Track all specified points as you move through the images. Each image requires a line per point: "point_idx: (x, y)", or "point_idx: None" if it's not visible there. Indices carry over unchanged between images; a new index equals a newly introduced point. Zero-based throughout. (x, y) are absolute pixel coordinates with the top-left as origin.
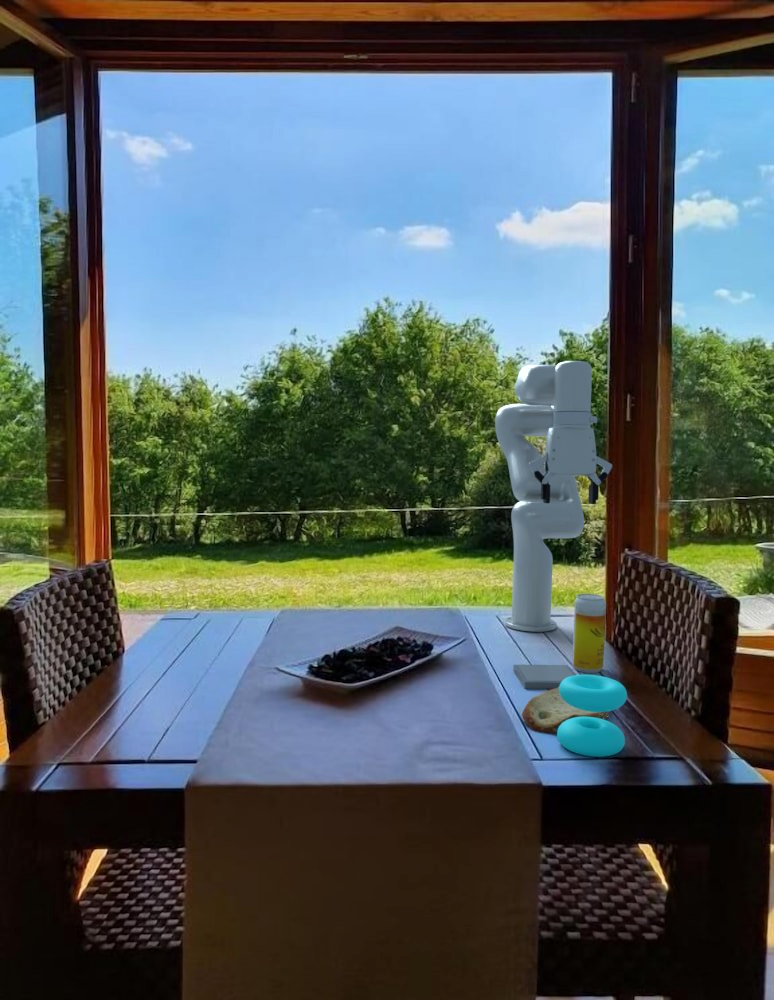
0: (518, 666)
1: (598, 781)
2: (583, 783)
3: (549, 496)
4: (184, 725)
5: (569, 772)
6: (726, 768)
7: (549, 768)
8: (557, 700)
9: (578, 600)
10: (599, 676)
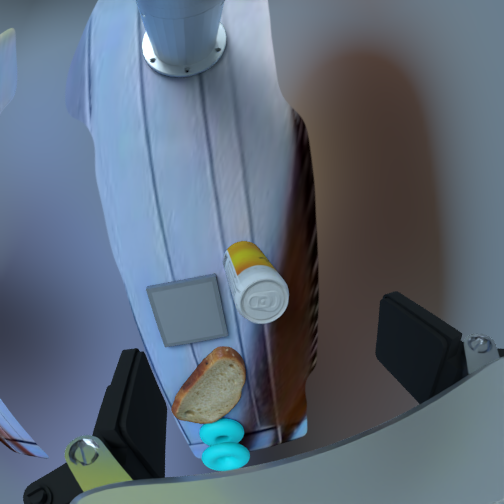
0: (152, 297)
1: None
2: None
3: (163, 430)
4: (4, 412)
5: None
6: (296, 429)
7: (195, 450)
8: (199, 394)
9: (240, 311)
10: (233, 455)
